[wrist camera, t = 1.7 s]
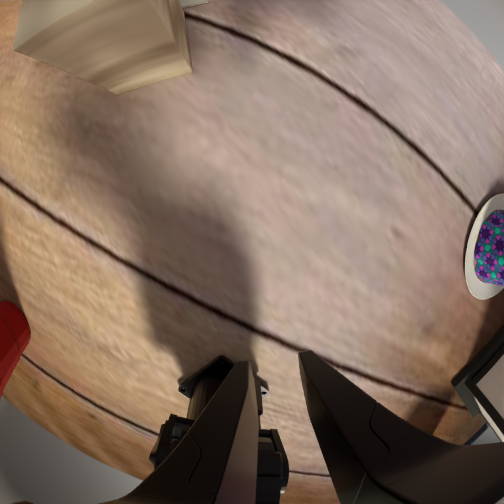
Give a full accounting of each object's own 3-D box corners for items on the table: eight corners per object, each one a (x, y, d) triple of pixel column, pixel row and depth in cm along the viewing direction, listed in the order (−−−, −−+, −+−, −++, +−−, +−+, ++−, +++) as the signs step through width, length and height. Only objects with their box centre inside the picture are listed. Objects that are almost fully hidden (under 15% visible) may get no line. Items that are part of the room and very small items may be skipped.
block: (192, 72, 17) (138, -17, 5) (117, 95, 17) (13, 50, 6) (184, 12, 15) (140, -84, 4) (113, 35, 15) (32, -30, 4)
